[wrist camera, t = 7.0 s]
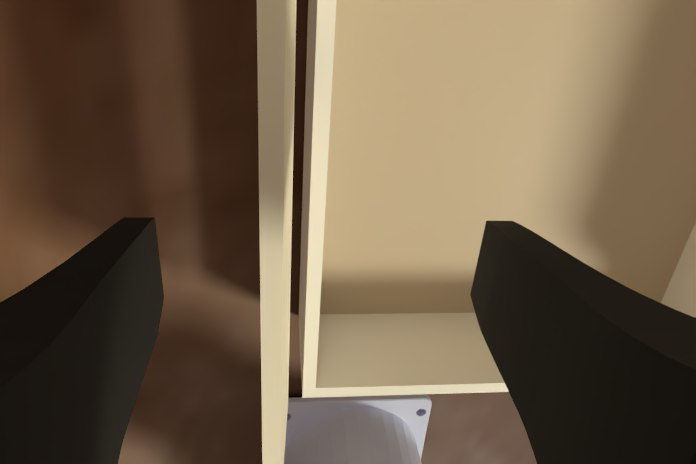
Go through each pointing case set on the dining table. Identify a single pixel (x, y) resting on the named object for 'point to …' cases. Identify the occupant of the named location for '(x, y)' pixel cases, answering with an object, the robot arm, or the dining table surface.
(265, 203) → the cream flap
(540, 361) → the robot arm
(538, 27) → the carton
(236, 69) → the dining table surface
